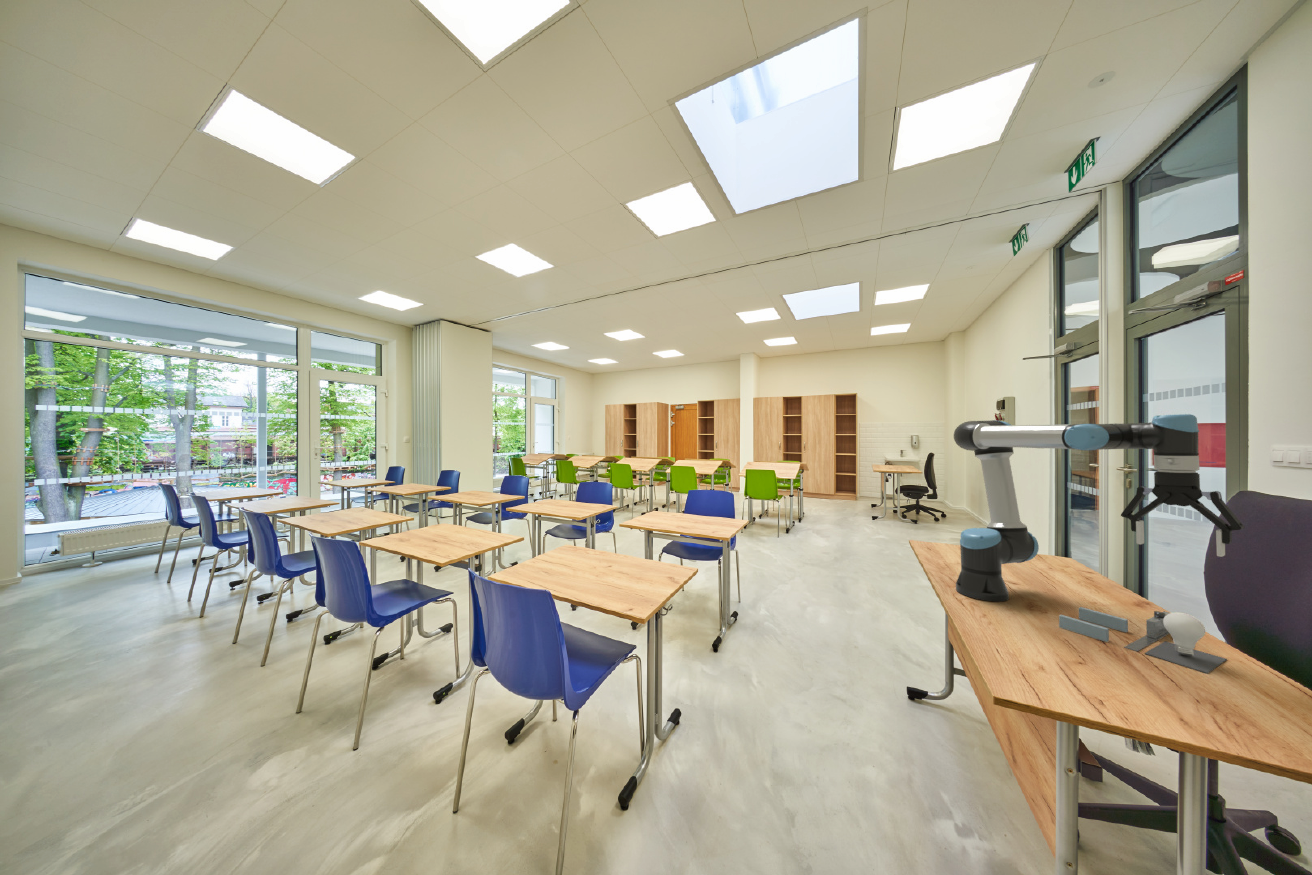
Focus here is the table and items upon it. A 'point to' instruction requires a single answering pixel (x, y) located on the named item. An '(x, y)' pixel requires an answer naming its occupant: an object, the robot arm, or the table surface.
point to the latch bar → (1156, 625)
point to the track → (1143, 642)
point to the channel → (1090, 628)
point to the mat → (1186, 658)
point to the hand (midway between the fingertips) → (1178, 549)
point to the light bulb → (1184, 631)
